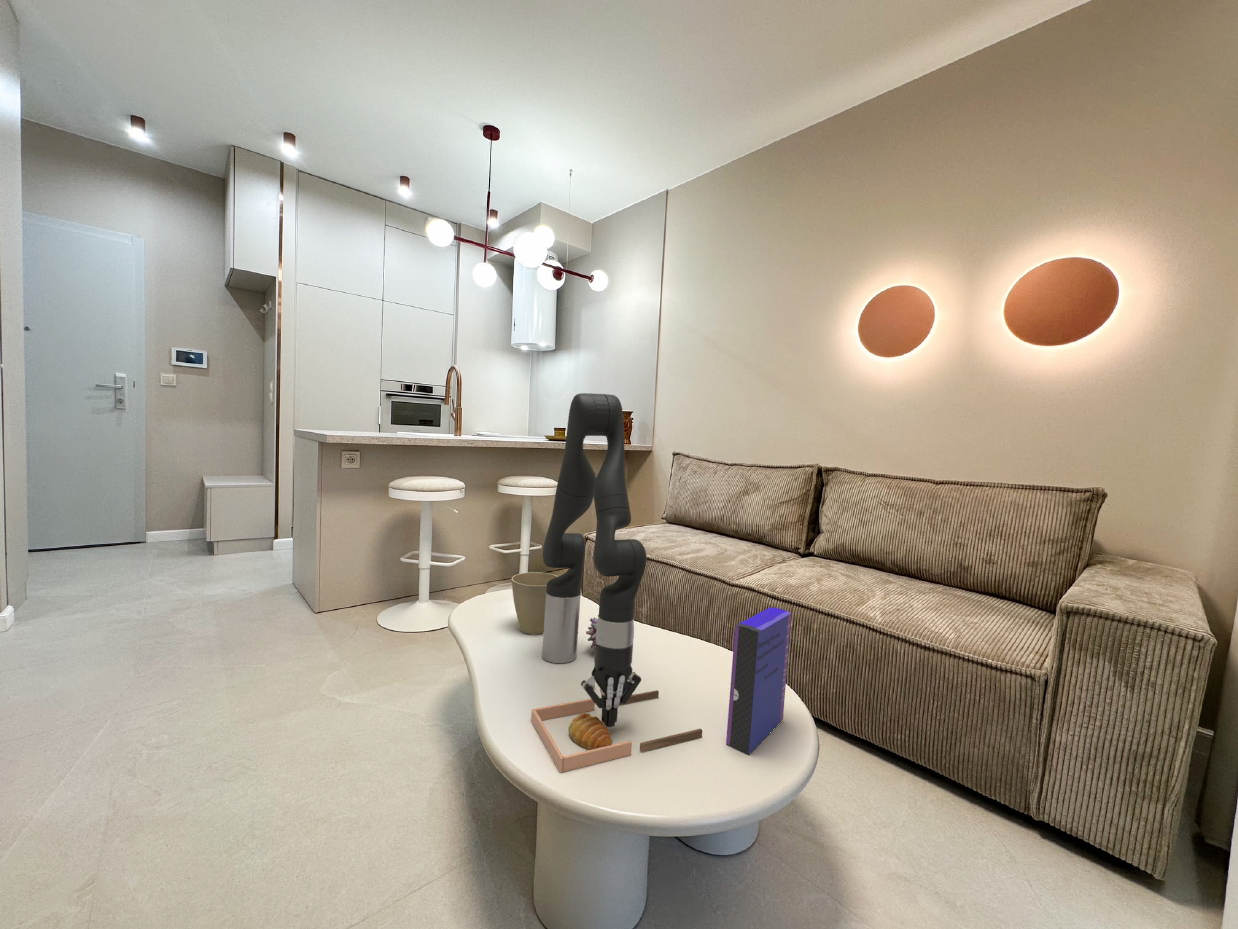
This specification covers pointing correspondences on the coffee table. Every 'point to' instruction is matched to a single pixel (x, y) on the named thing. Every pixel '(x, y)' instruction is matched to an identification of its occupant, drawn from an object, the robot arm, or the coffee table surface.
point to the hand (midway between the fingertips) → (608, 724)
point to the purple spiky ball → (592, 631)
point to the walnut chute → (665, 740)
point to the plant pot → (530, 600)
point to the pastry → (589, 732)
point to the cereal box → (758, 678)
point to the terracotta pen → (578, 758)
